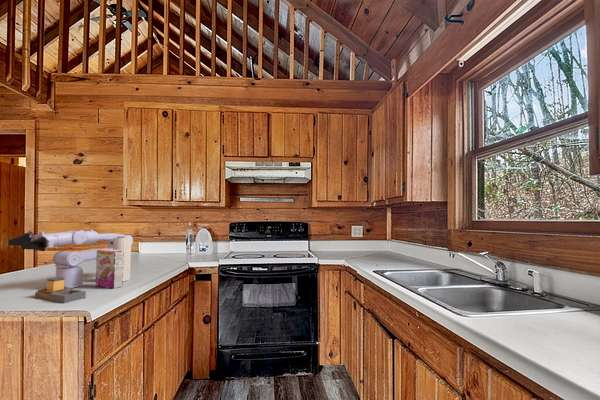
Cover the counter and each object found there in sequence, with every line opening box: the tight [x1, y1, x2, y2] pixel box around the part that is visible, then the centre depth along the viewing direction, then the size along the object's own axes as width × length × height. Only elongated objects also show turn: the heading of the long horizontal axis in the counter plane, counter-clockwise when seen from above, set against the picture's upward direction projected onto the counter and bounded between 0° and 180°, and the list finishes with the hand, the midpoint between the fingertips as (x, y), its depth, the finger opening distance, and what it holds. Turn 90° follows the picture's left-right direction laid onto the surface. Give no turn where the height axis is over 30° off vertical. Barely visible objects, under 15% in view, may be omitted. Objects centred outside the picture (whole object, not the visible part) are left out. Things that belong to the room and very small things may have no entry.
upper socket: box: [34, 287, 73, 301], centre depth 128 cm, size 9×9×3 cm
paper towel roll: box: [113, 236, 133, 283], centre depth 157 cm, size 7×6×21 cm
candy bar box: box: [95, 248, 124, 290], centre depth 146 cm, size 11×5×16 cm, turn 71°
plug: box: [46, 276, 64, 291], centre depth 128 cm, size 4×4×5 cm
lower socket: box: [49, 288, 87, 304], centre depth 124 cm, size 8×8×3 cm
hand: (15, 244), depth 125 cm, fingers open, 7 cm apart
